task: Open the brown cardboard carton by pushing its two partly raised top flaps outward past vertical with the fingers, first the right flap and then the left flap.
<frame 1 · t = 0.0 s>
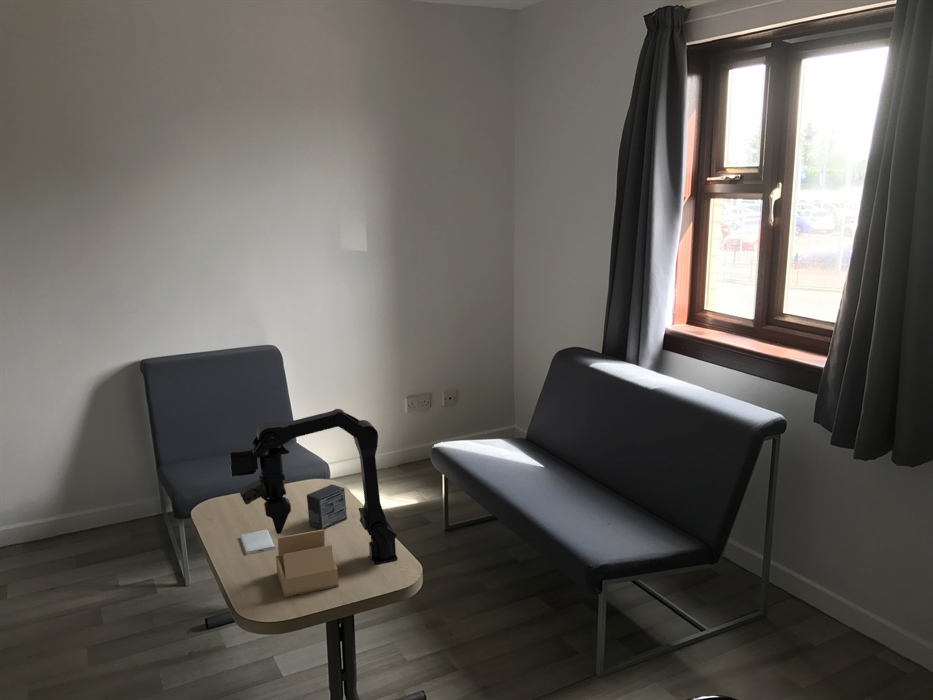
hand: (276, 526, 206), 15 cm above the table, tool pointing down, fingers open, 9 cm apart
carton: (307, 579, 208), on the table
hard drive: (257, 545, 230), on the table
right flap: (301, 542, 212), point 8 cm above the table, hinge at 70.0°
small box: (328, 523, 243), on the table
left flap: (309, 561, 201), point 8 cm above the table, hinge at 70.0°
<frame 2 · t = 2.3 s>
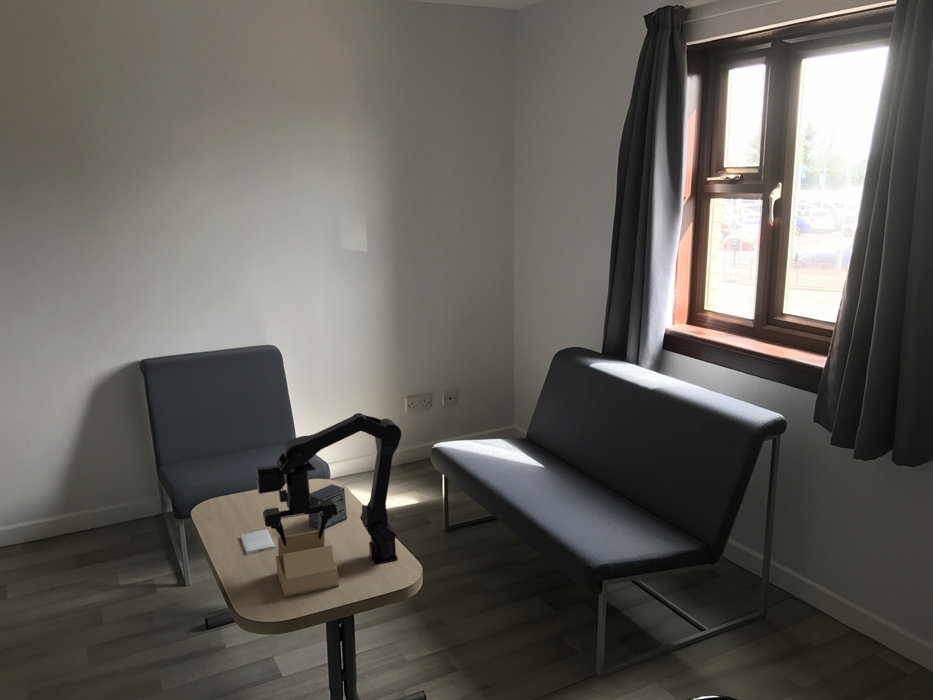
hand: (302, 542, 209), 9 cm above the table, tool pointing down
right flap: (301, 542, 212), point 8 cm above the table, hinge at 70.2°, touching gripper
everything else where it was.
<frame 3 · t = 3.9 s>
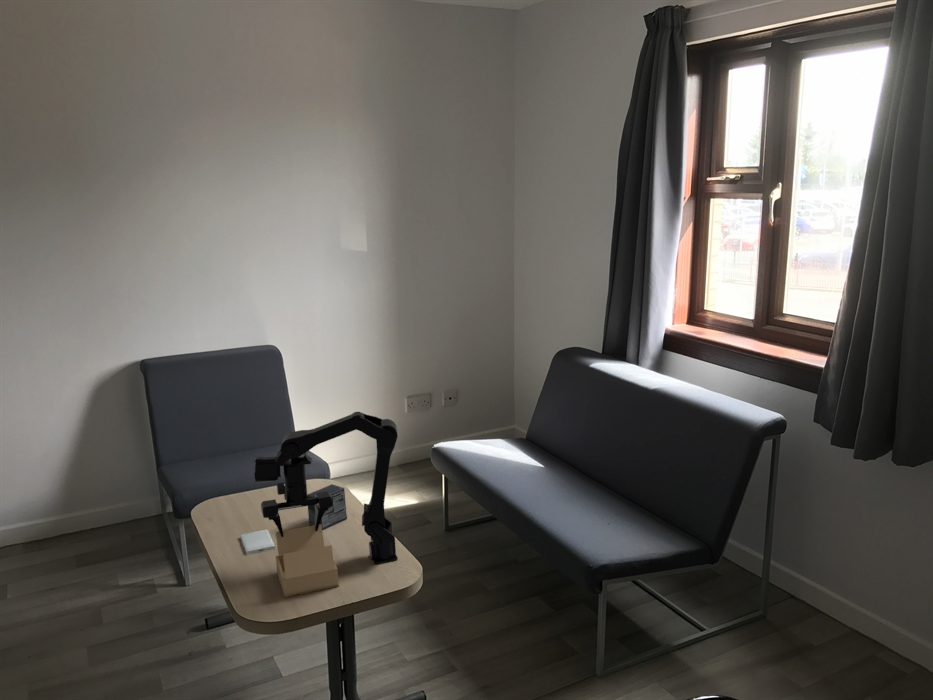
hand: (299, 533, 214), 9 cm above the table, tool pointing down
right flap: (300, 539, 214), point 8 cm above the table, hinge at 116.8°, touching gripper
everything else where it was.
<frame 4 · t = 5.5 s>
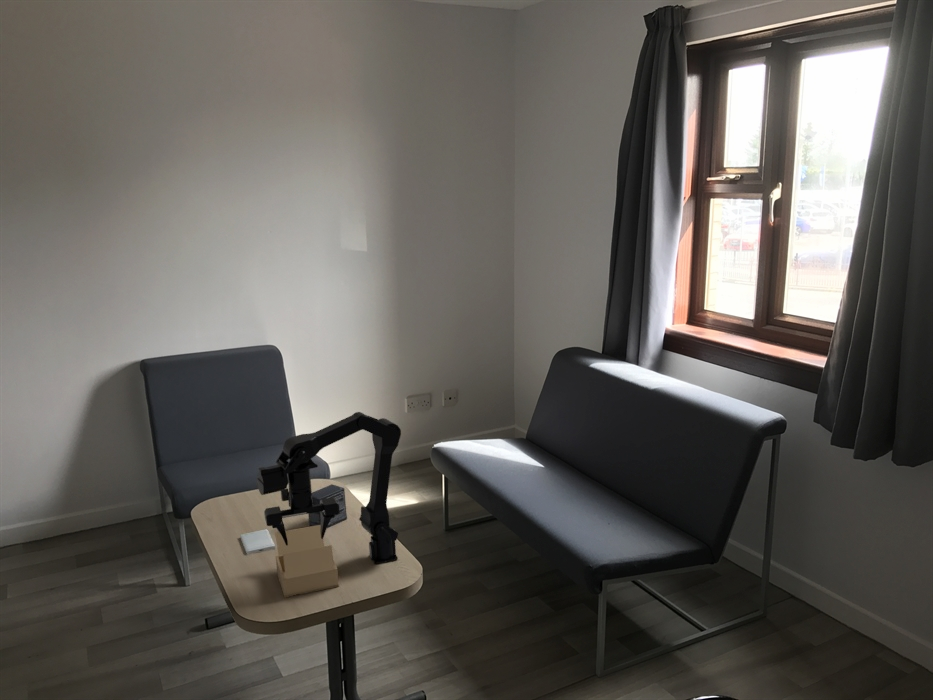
hand: (304, 541, 206), 11 cm above the table, tool pointing down, fingers open, 9 cm apart
right flap: (300, 539, 215), point 7 cm above the table, hinge at 125.9°
everything else where it was.
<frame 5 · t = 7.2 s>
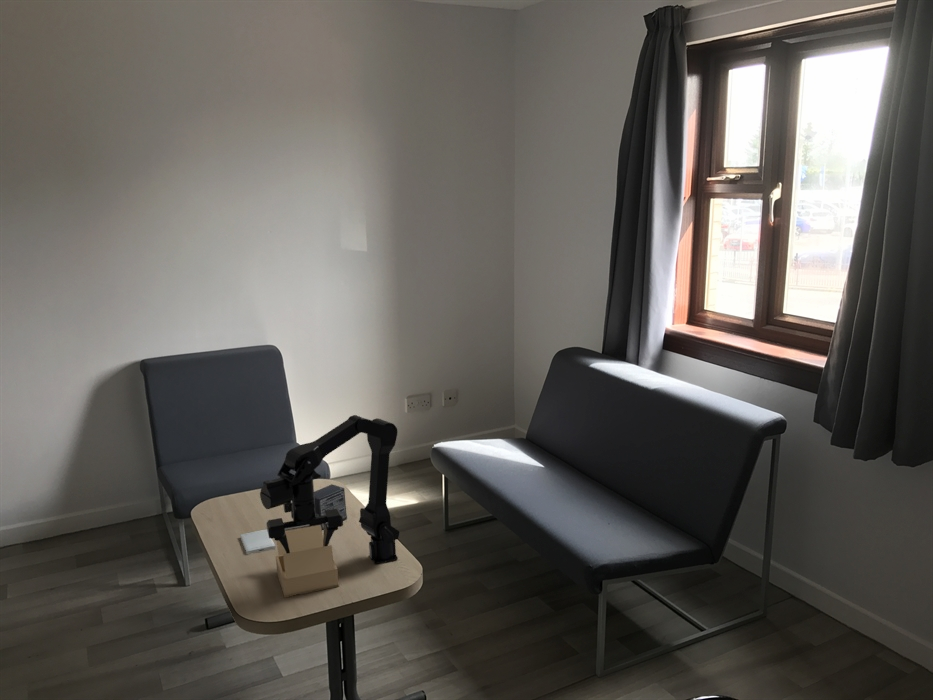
hand: (307, 553, 202), 9 cm above the table, tool pointing down
right flap: (299, 539, 215), point 7 cm above the table, hinge at 126.6°
left flap: (309, 561, 201), point 8 cm above the table, hinge at 70.4°, touching gripper
everything else where it was.
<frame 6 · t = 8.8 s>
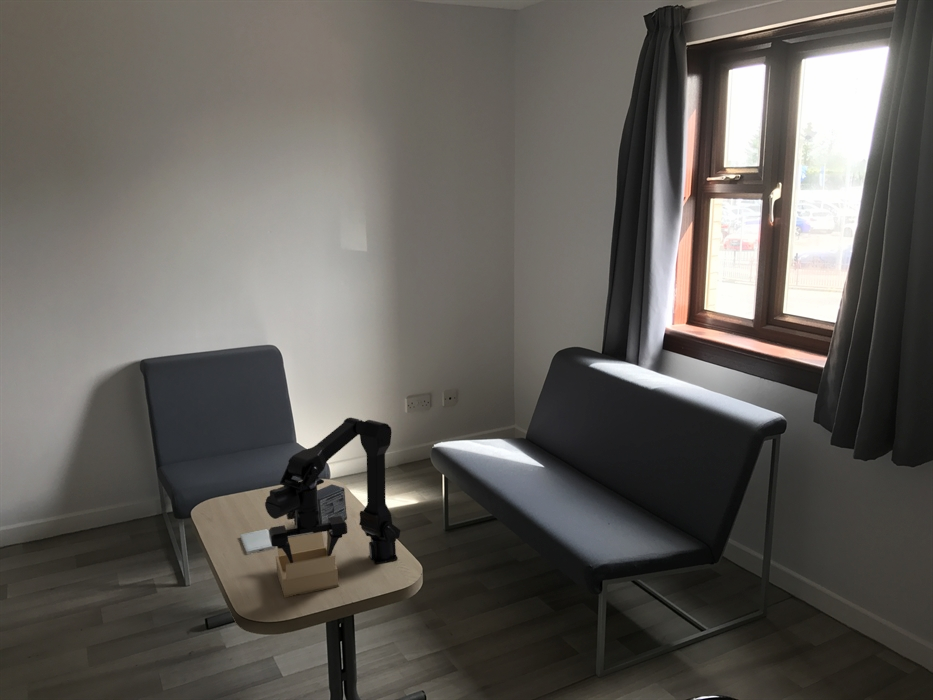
hand: (310, 561, 198), 9 cm above the table, tool pointing down
left flap: (310, 567, 198), point 8 cm above the table, hinge at 117.5°, touching gripper
everything else where it was.
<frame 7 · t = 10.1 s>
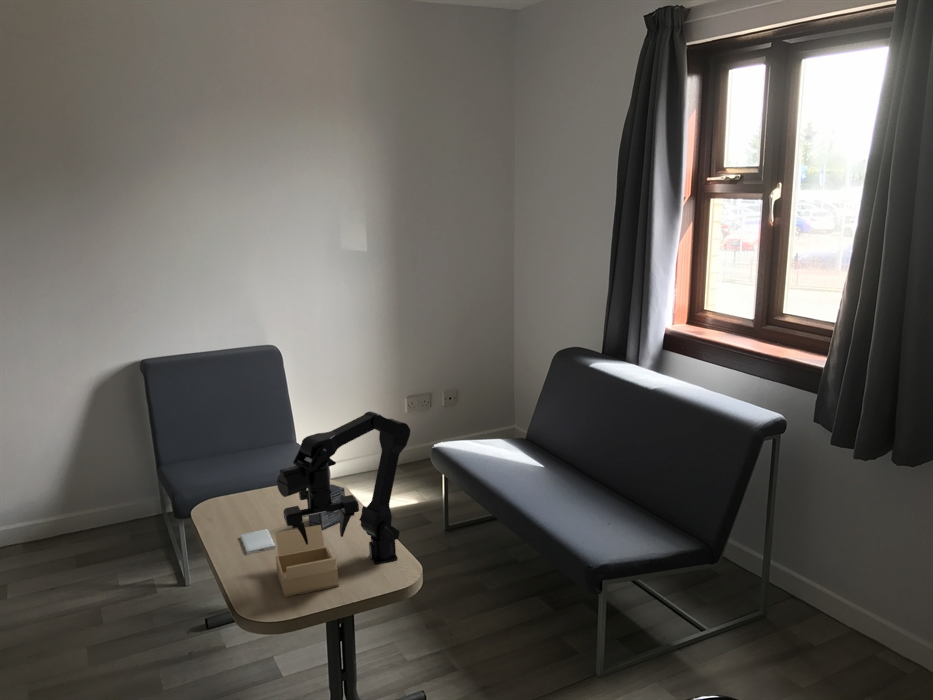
hand: (324, 540, 205), 12 cm above the table, tool pointing down, fingers open, 9 cm apart
left flap: (311, 568, 198), point 7 cm above the table, hinge at 125.7°
everything else where it was.
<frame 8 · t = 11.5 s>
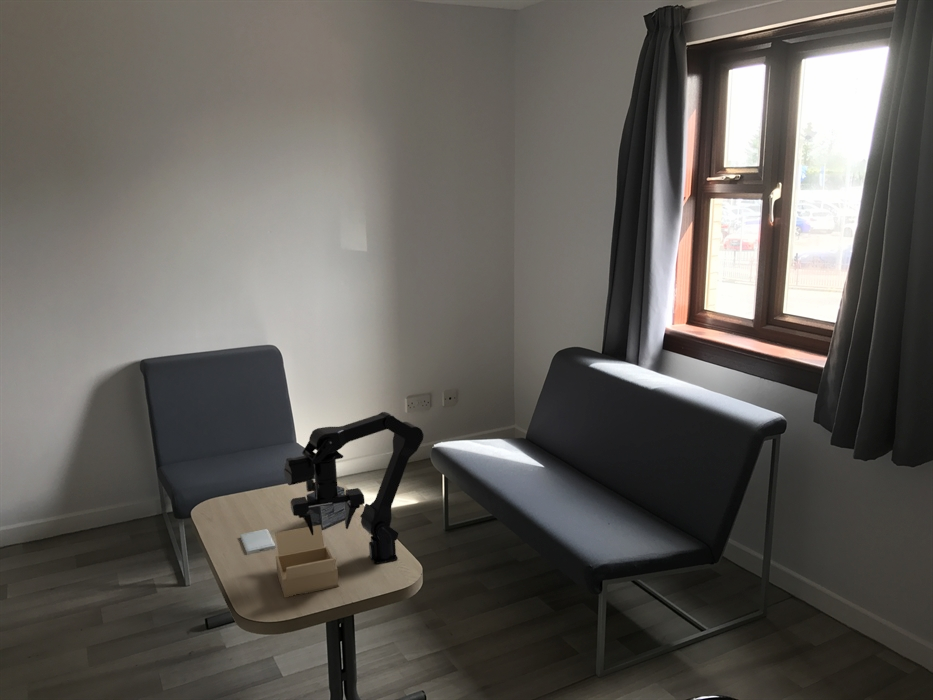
hand: (329, 531, 209), 12 cm above the table, tool pointing down, fingers open, 9 cm apart
left flap: (311, 569, 198), point 7 cm above the table, hinge at 126.7°
everything else where it was.
at the end: right flap at +127° (first picture: +70°); left flap at +127° (first picture: +70°) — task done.
